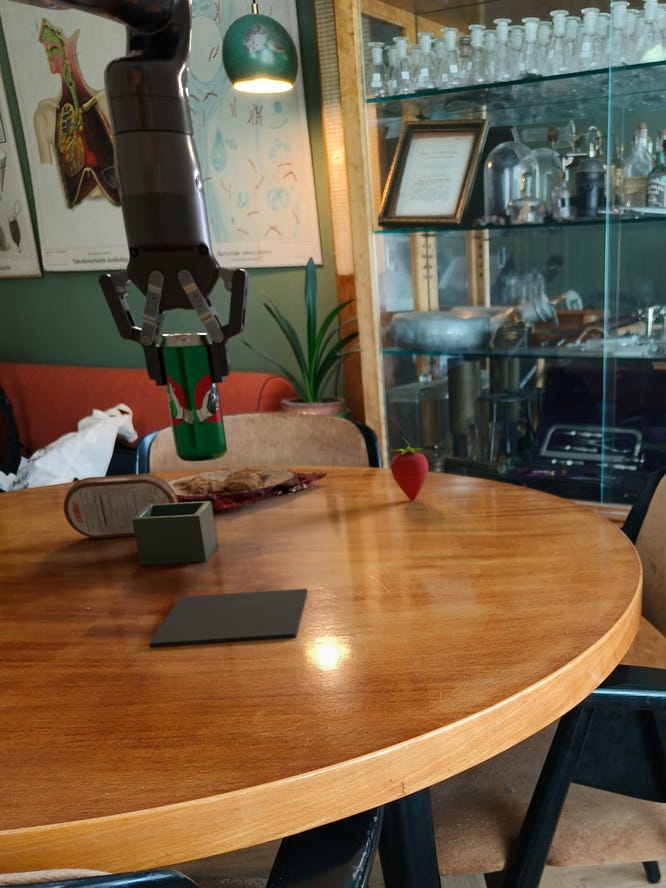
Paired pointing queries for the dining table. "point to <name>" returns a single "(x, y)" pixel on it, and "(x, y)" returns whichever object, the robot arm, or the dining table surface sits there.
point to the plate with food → (239, 485)
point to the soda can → (193, 397)
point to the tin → (113, 503)
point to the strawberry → (409, 470)
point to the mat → (232, 618)
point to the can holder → (175, 533)
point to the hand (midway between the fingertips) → (191, 382)
